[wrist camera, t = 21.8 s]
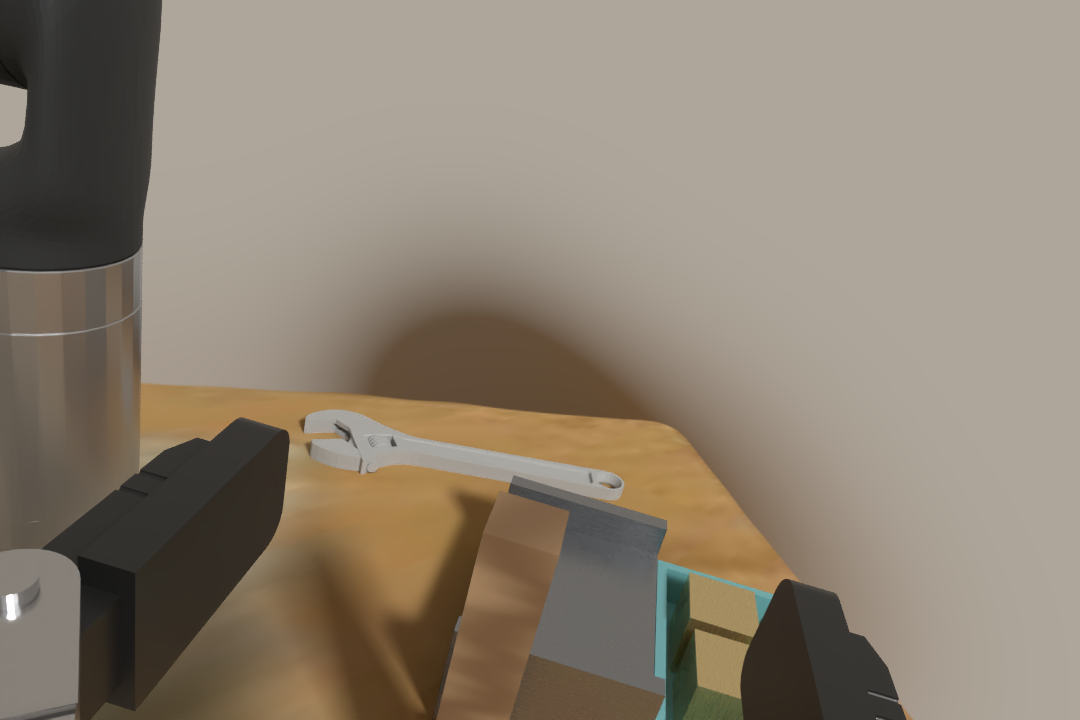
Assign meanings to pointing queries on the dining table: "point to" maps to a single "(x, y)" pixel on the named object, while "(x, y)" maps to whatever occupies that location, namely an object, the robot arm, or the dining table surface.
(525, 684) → the rail channel
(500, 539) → the wooden post on base
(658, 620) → the tray
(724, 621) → the brass block
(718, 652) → the brass block
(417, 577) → the dining table surface
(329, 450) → the adjustable wrench
